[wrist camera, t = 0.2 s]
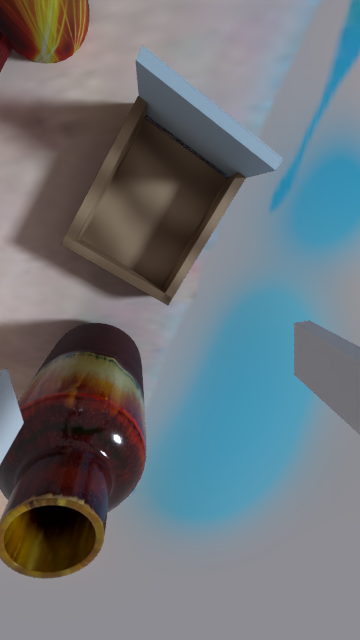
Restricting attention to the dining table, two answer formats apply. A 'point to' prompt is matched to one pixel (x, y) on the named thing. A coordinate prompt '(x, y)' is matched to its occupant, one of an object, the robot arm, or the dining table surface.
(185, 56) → the dining table surface
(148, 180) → the crate
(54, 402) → the vase
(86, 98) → the dining table surface
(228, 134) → the pale blue square panel
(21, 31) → the mug
